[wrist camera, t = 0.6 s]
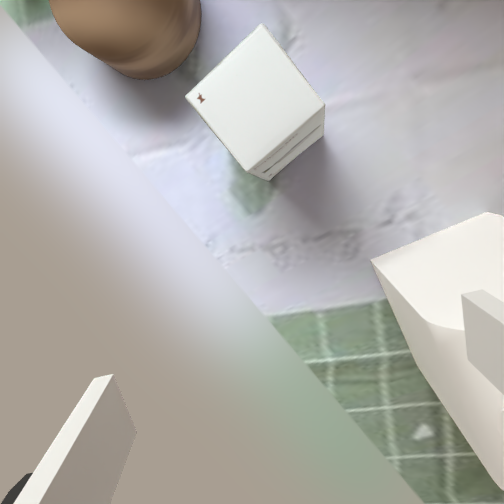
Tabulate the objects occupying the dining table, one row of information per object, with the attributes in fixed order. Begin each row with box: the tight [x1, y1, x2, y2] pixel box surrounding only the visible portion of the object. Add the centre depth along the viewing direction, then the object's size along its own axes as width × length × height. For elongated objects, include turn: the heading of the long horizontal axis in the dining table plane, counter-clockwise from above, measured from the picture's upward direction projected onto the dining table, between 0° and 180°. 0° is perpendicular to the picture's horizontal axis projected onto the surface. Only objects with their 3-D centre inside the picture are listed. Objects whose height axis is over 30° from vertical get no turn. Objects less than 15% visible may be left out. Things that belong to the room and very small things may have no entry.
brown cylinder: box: [49, 0, 201, 80], centre depth 36 cm, size 12×12×7 cm
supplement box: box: [185, 23, 325, 181], centre depth 32 cm, size 7×7×13 cm
